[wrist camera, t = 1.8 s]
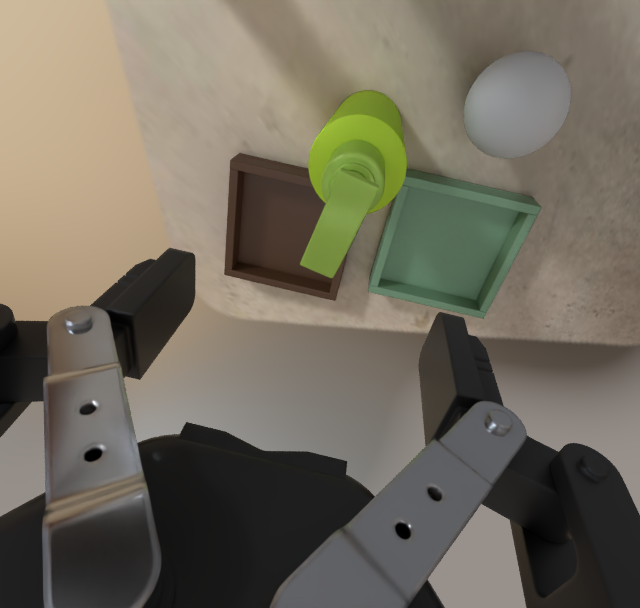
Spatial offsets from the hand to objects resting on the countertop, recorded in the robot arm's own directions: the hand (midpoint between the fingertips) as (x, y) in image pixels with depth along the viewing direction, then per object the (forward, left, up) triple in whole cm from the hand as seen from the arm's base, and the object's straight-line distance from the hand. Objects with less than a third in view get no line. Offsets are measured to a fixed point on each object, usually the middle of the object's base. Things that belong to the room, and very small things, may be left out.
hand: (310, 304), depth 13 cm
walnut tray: (+10, -5, -27) cm, 29 cm away
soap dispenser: (0, 0, -27) cm, 27 cm away
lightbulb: (-5, +9, -27) cm, 29 cm away
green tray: (+8, +10, -27) cm, 30 cm away
